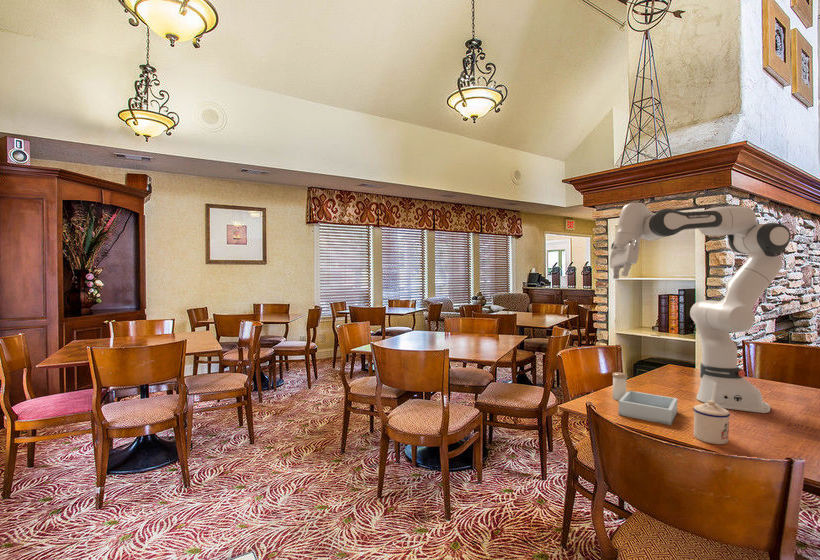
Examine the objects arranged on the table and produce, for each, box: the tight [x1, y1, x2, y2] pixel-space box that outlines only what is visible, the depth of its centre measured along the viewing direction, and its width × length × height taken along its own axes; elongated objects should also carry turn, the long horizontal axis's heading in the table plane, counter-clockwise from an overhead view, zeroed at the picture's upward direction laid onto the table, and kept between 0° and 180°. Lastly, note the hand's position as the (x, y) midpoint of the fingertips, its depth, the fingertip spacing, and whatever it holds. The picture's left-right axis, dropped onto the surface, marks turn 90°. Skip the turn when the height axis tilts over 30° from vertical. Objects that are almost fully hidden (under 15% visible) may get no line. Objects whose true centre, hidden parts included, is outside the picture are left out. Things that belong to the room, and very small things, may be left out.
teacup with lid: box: [693, 400, 731, 445], centre depth 130 cm, size 12×9×12 cm
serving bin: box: [617, 390, 678, 426], centre depth 151 cm, size 16×16×5 cm
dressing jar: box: [612, 371, 628, 401], centre depth 168 cm, size 5×5×10 cm
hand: (619, 277), depth 164 cm, fingers open, 8 cm apart
